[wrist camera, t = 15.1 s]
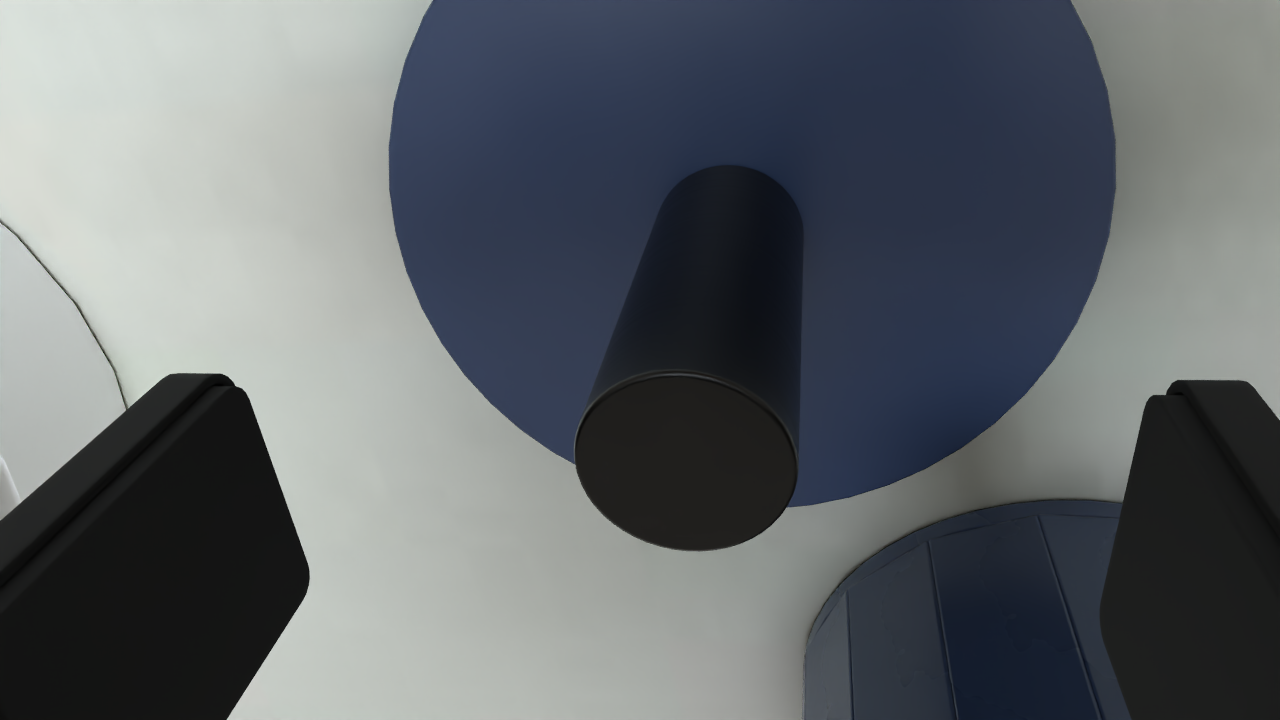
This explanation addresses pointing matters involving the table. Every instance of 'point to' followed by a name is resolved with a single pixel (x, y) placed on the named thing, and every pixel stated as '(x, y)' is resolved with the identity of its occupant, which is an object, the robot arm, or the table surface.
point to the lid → (750, 234)
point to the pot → (973, 622)
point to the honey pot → (45, 376)
